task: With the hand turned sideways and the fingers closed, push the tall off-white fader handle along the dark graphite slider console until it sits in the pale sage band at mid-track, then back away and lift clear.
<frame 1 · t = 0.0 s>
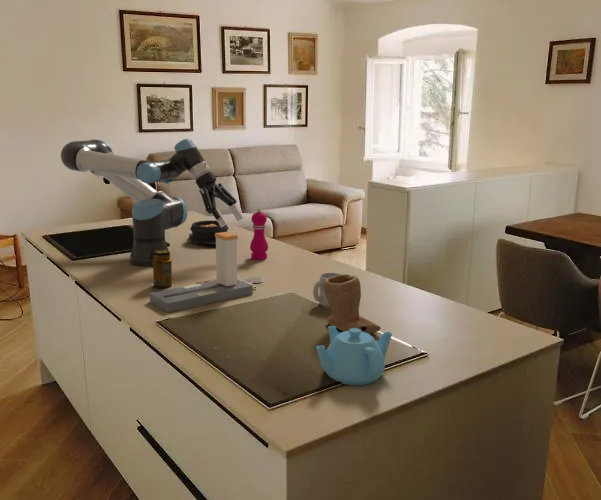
hand: (232, 222, 228), 15 cm above the counter, tool tilted 35°, fingers open, 13 cm apart
fader: (226, 258, 190), point 11 cm above the counter, slide at 0.0 cm
console: (202, 297, 187), on the counter
condiment: (163, 287, 198), on the counter
casserole: (209, 242, 264), on the counter
cup: (327, 304, 183), on the counter
pepper mill: (259, 258, 237), on the counter
brown boot: (347, 330, 163), on the counter
teapot: (352, 374, 136), on the counter
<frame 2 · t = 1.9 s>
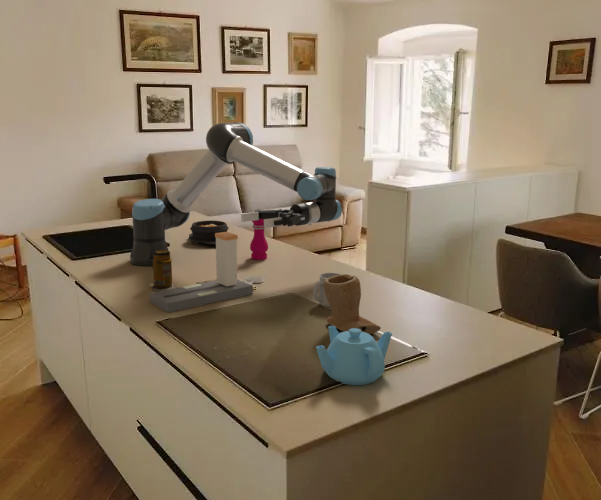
hand: (252, 220, 194), 23 cm above the counter, tool horizontal, fingers open, 12 cm apart
nothing on the counter moved.
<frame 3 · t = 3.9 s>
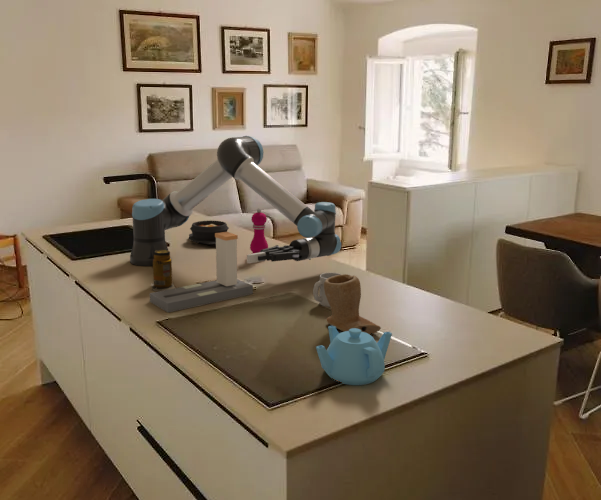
hand: (248, 259, 196), 10 cm above the counter, tool horizontal, fingers closed
nothing on the counter moved.
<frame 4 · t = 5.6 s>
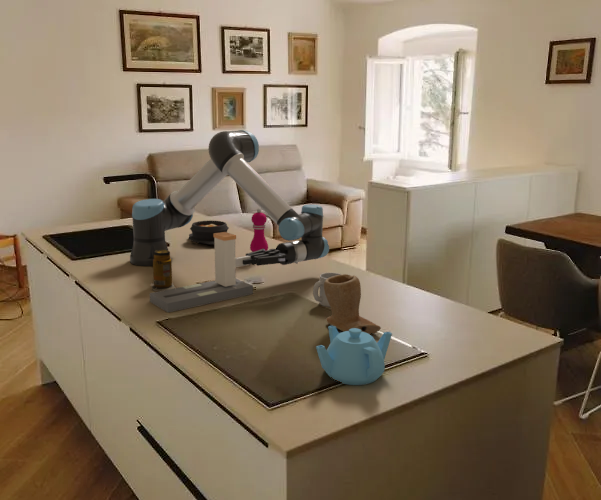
hand: (232, 263, 191), 10 cm above the counter, tool horizontal, fingers closed
fader: (225, 259, 190), point 11 cm above the counter, slide at 0.5 cm, touching gripper
everything else where it was.
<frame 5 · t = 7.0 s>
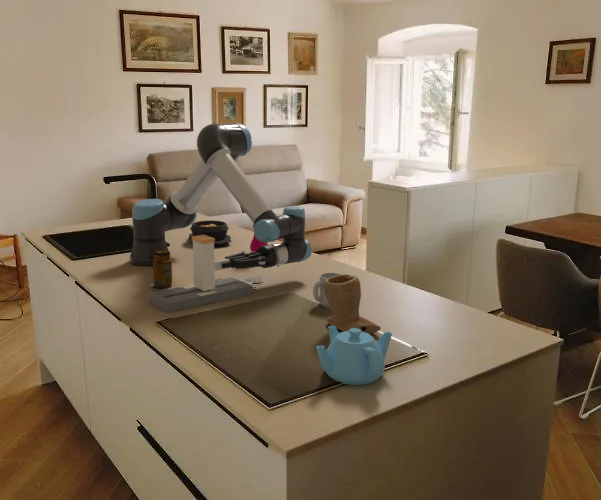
hand: (211, 266, 186), 10 cm above the counter, tool horizontal, fingers closed
fader: (203, 262, 185), point 11 cm above the counter, slide at 8.3 cm, touching gripper
everything else where it was.
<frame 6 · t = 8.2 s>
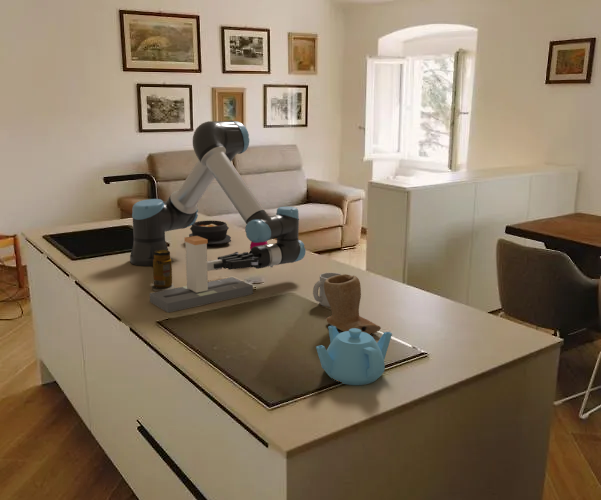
hand: (203, 267, 185), 10 cm above the counter, tool horizontal, fingers closed
fader: (196, 264, 184), point 11 cm above the counter, slide at 10.8 cm, touching gripper
everything else where it was.
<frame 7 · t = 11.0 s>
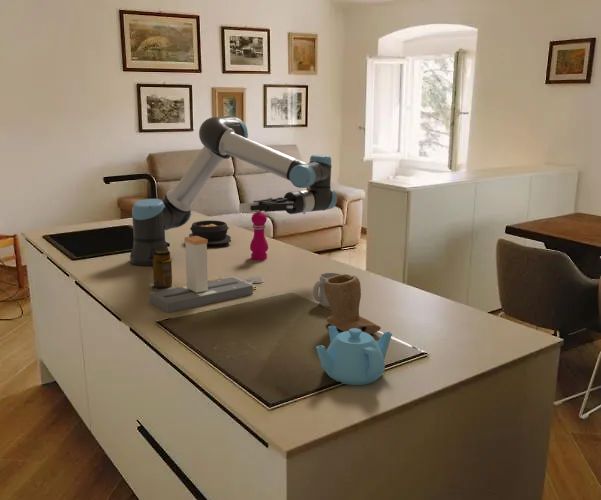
hand: (240, 208, 190), 27 cm above the counter, tool horizontal, fingers closed
fader: (196, 264, 184), point 11 cm above the counter, slide at 10.8 cm
everything else where it was.
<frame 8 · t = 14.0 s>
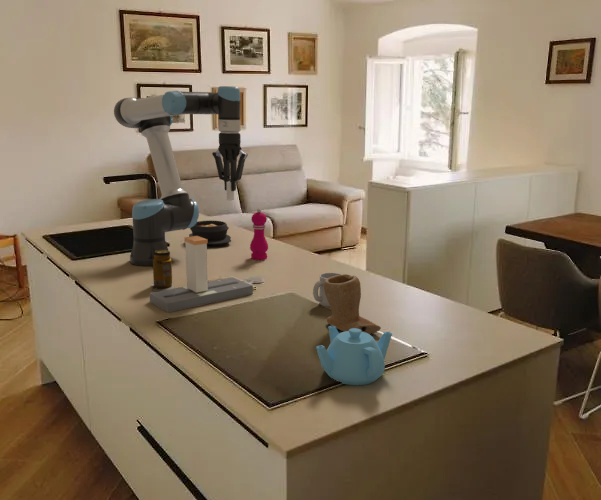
hand: (230, 199, 211), 26 cm above the counter, tool pointing down, fingers closed
nothing on the counter moved.
at the end: fader slide at 10.8 cm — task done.
